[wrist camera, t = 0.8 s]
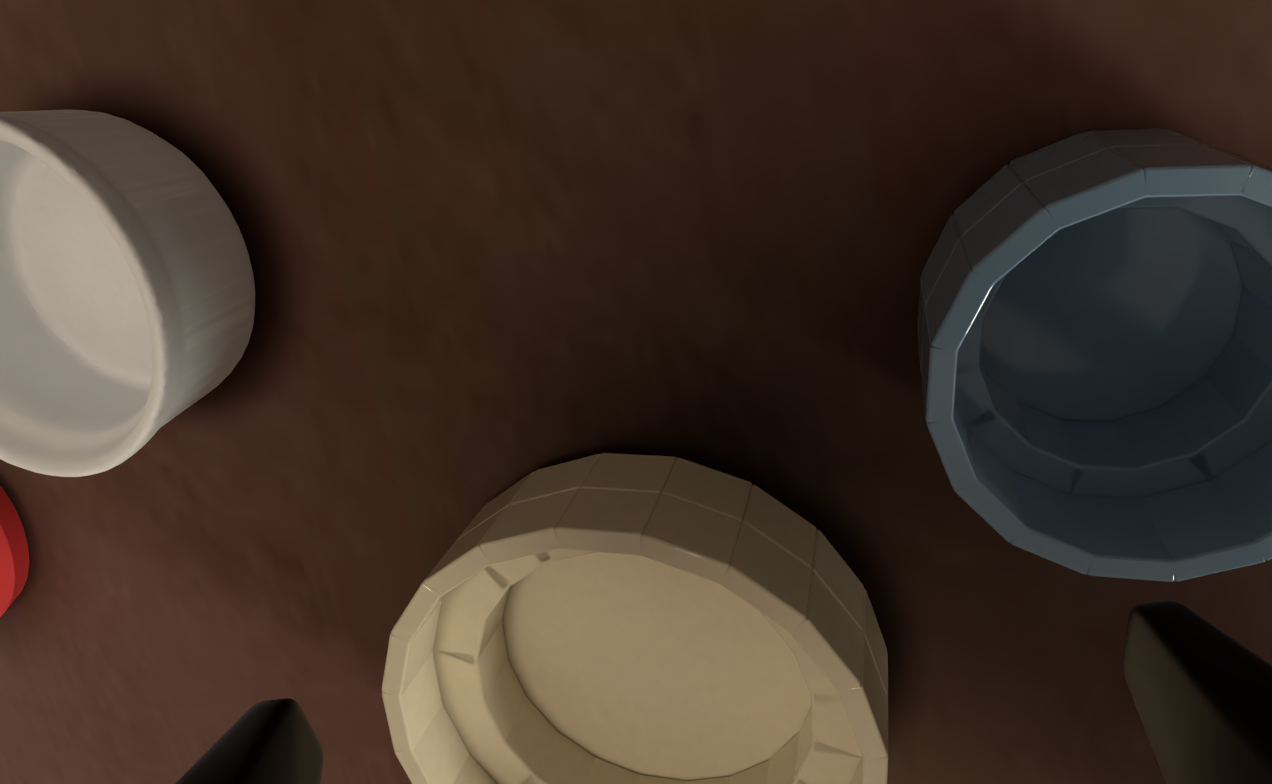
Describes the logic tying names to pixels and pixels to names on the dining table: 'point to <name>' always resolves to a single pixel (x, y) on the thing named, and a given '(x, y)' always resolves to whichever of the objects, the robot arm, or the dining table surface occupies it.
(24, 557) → the canned food
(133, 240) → the ramekin
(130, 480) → the dining table surface
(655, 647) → the cream bowl
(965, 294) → the slate bowl
